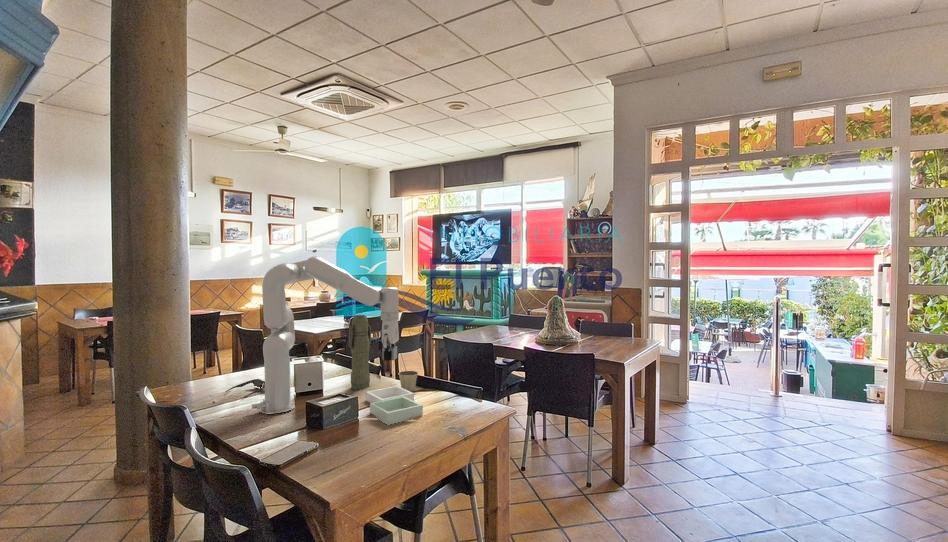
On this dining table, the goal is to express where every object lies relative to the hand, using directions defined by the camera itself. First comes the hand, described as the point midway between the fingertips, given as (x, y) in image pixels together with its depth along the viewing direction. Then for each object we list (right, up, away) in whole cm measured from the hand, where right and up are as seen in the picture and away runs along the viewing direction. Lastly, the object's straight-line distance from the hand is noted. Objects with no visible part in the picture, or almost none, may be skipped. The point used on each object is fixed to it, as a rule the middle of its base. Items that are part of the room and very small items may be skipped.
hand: (389, 358), depth 185 cm
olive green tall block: (-19, -19, +25) cm, 37 cm away
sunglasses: (-69, -20, +15) cm, 73 cm away
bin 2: (+5, -19, -15) cm, 25 cm away
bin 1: (0, -19, +1) cm, 19 cm away
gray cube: (0, 0, 0) cm, 0 cm away
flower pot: (+5, -19, +18) cm, 27 cm away
